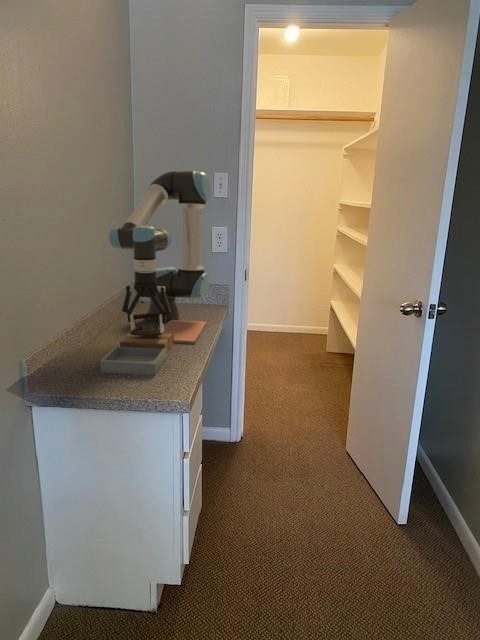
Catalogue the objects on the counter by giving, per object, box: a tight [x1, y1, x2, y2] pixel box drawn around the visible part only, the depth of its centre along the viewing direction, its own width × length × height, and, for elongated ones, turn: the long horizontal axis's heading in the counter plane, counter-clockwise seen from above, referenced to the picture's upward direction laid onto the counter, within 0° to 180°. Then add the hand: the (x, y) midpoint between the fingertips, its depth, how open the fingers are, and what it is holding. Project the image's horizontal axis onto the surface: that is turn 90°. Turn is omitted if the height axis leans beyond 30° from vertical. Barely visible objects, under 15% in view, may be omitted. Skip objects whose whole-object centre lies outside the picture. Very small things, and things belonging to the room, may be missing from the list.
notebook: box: [163, 319, 208, 345], centre depth 187 cm, size 27×17×2 cm, turn 174°
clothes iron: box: [129, 311, 162, 336], centre depth 163 cm, size 7×11×10 cm, turn 111°
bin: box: [99, 345, 168, 376], centre depth 151 cm, size 16×18×4 cm
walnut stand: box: [119, 331, 175, 355], centre depth 166 cm, size 14×16×5 cm
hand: (147, 331), depth 165 cm, fingers closed on clothes iron, 10 cm apart
